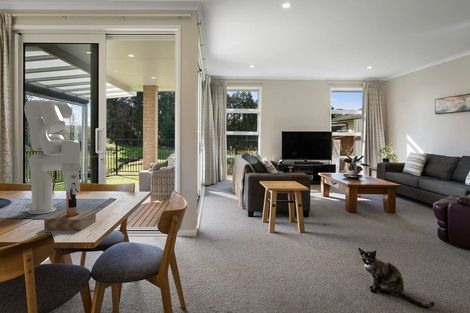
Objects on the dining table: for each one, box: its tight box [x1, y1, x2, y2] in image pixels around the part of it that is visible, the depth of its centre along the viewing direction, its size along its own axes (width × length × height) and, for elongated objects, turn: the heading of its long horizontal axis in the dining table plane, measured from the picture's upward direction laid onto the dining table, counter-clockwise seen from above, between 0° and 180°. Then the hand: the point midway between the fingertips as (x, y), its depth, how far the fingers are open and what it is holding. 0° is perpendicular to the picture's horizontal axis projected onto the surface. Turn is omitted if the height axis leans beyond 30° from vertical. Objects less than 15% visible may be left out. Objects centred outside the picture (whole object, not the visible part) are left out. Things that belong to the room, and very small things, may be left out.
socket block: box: [43, 210, 96, 232], centre depth 135 cm, size 16×14×5 cm
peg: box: [65, 191, 77, 217], centre depth 134 cm, size 4×4×14 cm
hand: (71, 206), depth 134 cm, fingers closed on peg, 4 cm apart
